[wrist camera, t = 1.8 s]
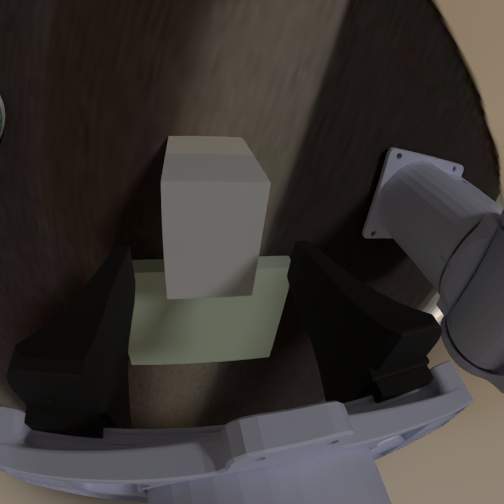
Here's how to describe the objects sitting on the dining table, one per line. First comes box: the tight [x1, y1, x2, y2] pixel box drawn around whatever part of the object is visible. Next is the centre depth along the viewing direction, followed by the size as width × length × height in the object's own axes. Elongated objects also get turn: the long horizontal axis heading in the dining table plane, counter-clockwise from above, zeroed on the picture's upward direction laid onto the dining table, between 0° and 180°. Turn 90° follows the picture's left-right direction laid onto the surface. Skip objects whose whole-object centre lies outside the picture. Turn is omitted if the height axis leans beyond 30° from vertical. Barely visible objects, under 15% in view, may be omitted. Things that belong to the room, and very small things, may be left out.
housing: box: [161, 136, 271, 299], centre depth 17 cm, size 4×6×7 cm
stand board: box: [128, 256, 291, 365], centre depth 26 cm, size 14×12×2 cm
